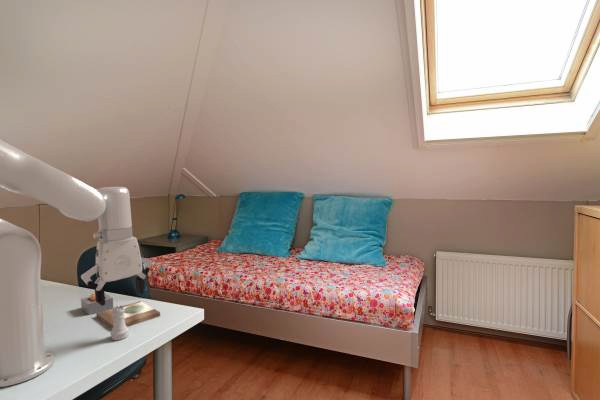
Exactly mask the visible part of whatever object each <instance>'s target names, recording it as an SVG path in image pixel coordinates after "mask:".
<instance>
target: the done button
mask: <svg viewBox="0 0 600 400" xmlns="http://www.w3.org/2000/svg"><path fill="white" fill-rule="evenodd" d="M89 297H90V301H91V302H93V301H96V298H95V293H91V294H90V296H89Z"/></svg>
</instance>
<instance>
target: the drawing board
mask: <svg viewBox="0 0 600 400" xmlns="http://www.w3.org/2000/svg"><path fill="white" fill-rule="evenodd" d="M123 306H124V309H125V310H126V311H125V312H124V315H125V317H124V320H125V325H126V326H127V327H130V326H134V325H136V324H139V323H144V322H146V321H149V320H152V319H155V317H156V318H158V317H161V312H160V311H159V310H157V309H156V308H154V307H152V306H150V305H148V304H146V303H145V302H143V301H140V300H139V301H136V302H132V303H128V304H125V305H123ZM118 308H120V306H118ZM112 311H113V308H112V309H109V310H105V311H101V312H98V313H95V314H96V315H95V316H96V318H97V319H98V320H100V321H101V322H102V323H104V324H105V325H106V326H108V327H109V328H110V329H112V328H113V326H114V318H113V317H114V314H113V313H112Z"/></svg>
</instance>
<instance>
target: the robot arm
mask: <svg viewBox="0 0 600 400" xmlns="http://www.w3.org/2000/svg"><path fill="white" fill-rule="evenodd" d="M0 188H2V189H4V190H7V191H9V192H12V193H15V194H19V195H23V196H27V197H29V198H32V199H35V200H37V201H39V202H42V203H44V204H47V205H49V206H51V207H52V208H56V209H57V210H59V212H60V213H61V214H62V215H64V216H65V217H67V218H69V219H70V218H71V219H75V220H79V221H83V222H91V221H94V220H95V221H96V220H97V221H98V230H97V232H93V233H92V234H93V235H92V236H93V237H92V238H93V239H98V241H97V242H96V252H95V265H94V266H92V267H91V268H89V270H87V271H86V272H84V273H82V274H81V275H80V278H81V280H83V282H84V283H85V285H87V287H88V286H89V287H90V288H91V289H93V290H94V294H95V298H96V302H97V303H99V304H100V305H102V306H103V305H105V295H104V293H105V289H103V287H104V285H105V284H106V283H109V282H115V281H119V280H123V279H126V278H130V277H135V276H136V277H135V279H134V281H135V292H136V293H138V294H140V295H143V294H144V293H145V287H146V286H145V279H146V278H147V275H148V274H149V272H150V271H151V268H152V264H153V260H151V259H148V258H146V257H145V258H144V257H142V255H141V251H140V250H141V249H140V244H139V243H138V242H139V241H138V239H137V237H136V236H133V223H132V212H131V211H132V210H131V199H130V197H131V196H130V191H129V189H128V187H126V186H109V187H108V186H104V187H100V188H94V187H92V186H91V185H89V184H86V183H85V182H83V181H81V180H79V179H78V178H76V177H74V176H72V175H70V174H68V173H67V172H65V171H62V170H60V169H58V168H56V167H54V166H52V165H50V164H48V163H46V162H44V161H42V160H41V159H38V158H37V157H35V156H32V155H30V154H28V153H26V152H24V151H22V150H21V149H19V148H16V147H15V146H13V145H11V144H9V143H8V142H5V141H4V140H2V139H0ZM143 264H144V266H143ZM41 267H42V249H41V245H40V241H39V240H38V238H37V237H36V236H35V235H34V234H33V233H32V232H31V231H29V230H27V229H25V228H23V227H20V226H18V225H15V224H13V223H11V222H9V221H7V220H4V219H2V218H1V217H0V388H4V387H9V386H14V385H16V384H21V383H23V382H27V381H29V380H31V379H33V378H36V377H38V376H39V375H42V374H43V373H45V372H46V371H47V370H49V369H50V368H51V367H52V365H53V364H54V362H55V361H54V360H55V356H54V354H53V353H51V352H48V351H46V349H45V336H44V335H45V334H44V317H43V316H44V315H43V302H42V301H43V300H42V298H43V297H42V289H41V288H42V287H41V286H42V285H41V282H42V281H41ZM95 274H96V275H95ZM93 275H95V276H96V278H97V279H96V280H95V281H93V280H92V279H91V277H92V276H93Z"/></svg>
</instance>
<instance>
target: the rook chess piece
mask: <svg viewBox="0 0 600 400" xmlns="http://www.w3.org/2000/svg"><path fill="white" fill-rule="evenodd" d="M118 307H120V308H118ZM112 309H113V311H112V313H113V314H114V317H113V318H114V326H113V328H111V331H110V336H109V337H110V339H111V340H112V341H122V340H124V339H126V338H127V337H128V336H129V335H130V331H129V327H128V326H126V325H125V320H124V317H125V315H124V312H125V311H126V310H125V309H124V305H120V306H119V305H116V306H113V308H112Z"/></svg>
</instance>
